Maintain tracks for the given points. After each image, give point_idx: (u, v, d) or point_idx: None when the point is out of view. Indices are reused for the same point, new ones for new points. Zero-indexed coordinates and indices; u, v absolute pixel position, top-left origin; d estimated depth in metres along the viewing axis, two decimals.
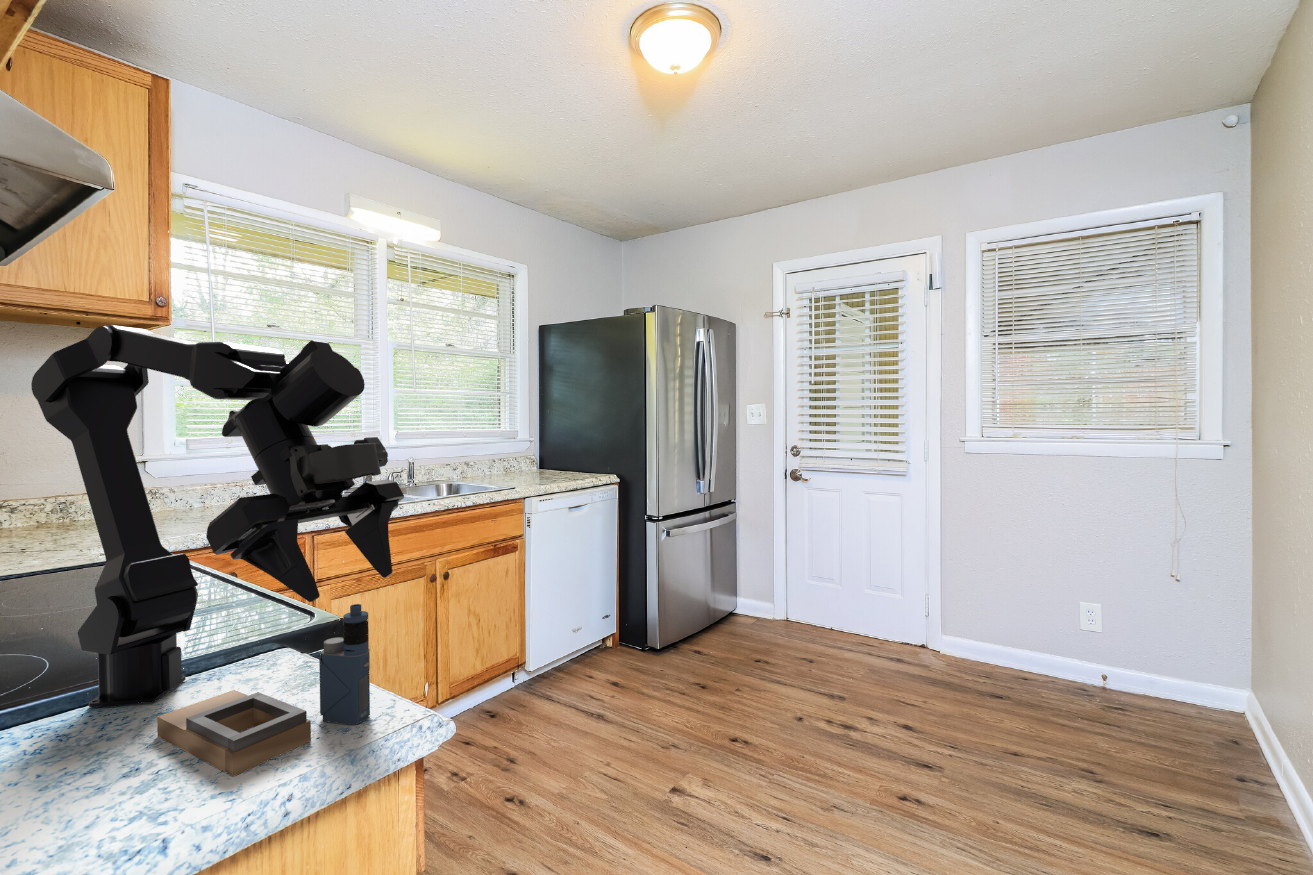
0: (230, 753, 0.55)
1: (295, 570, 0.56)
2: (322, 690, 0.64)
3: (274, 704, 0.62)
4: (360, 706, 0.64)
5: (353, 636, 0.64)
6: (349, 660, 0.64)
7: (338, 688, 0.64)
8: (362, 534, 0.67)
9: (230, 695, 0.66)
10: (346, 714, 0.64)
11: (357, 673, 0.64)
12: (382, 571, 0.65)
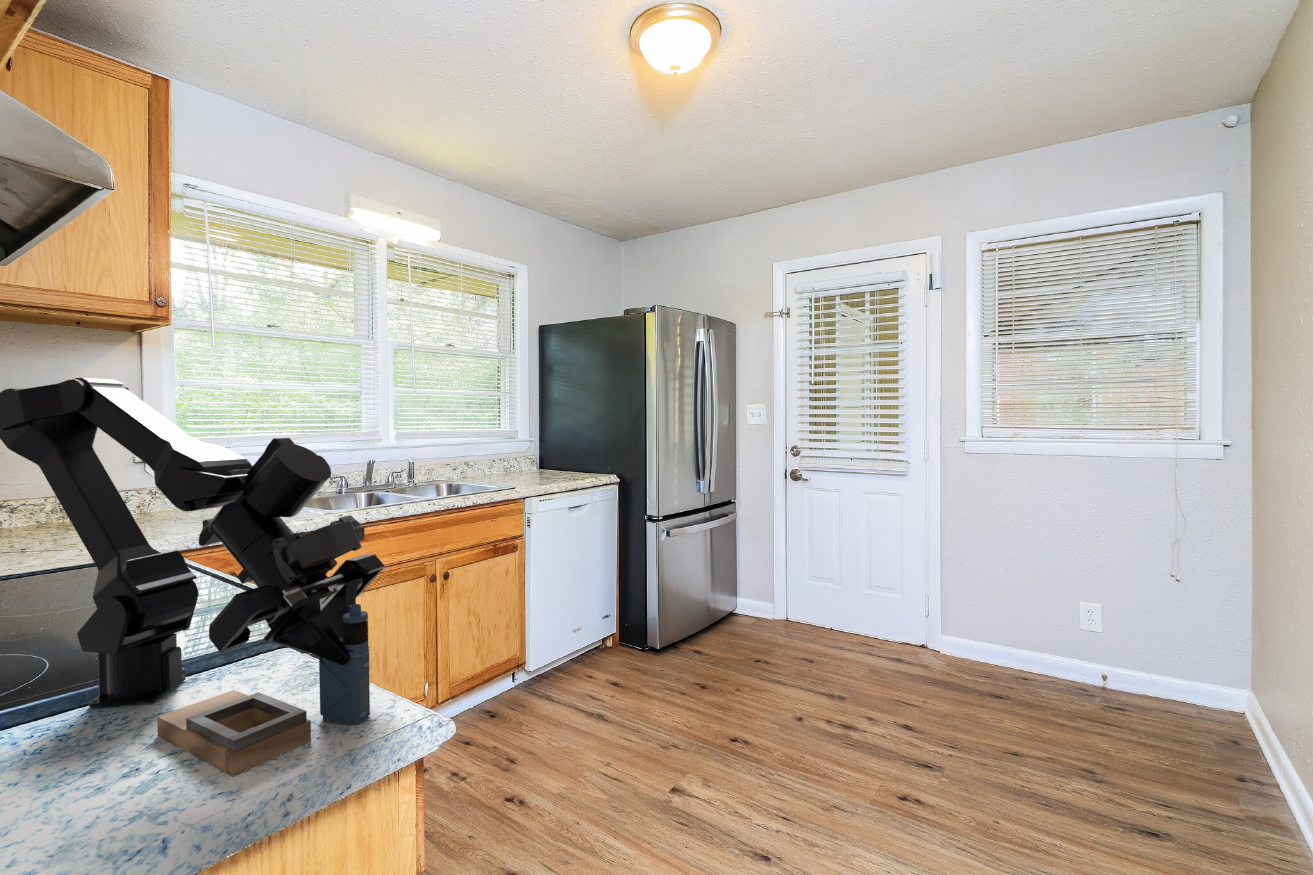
0: (230, 753, 0.55)
1: (325, 639, 0.63)
2: (322, 690, 0.64)
3: (274, 704, 0.62)
4: (360, 706, 0.64)
5: (353, 636, 0.64)
6: (349, 660, 0.64)
7: (338, 688, 0.64)
8: (331, 618, 0.67)
9: (230, 695, 0.66)
10: (346, 714, 0.64)
11: (357, 673, 0.64)
12: None
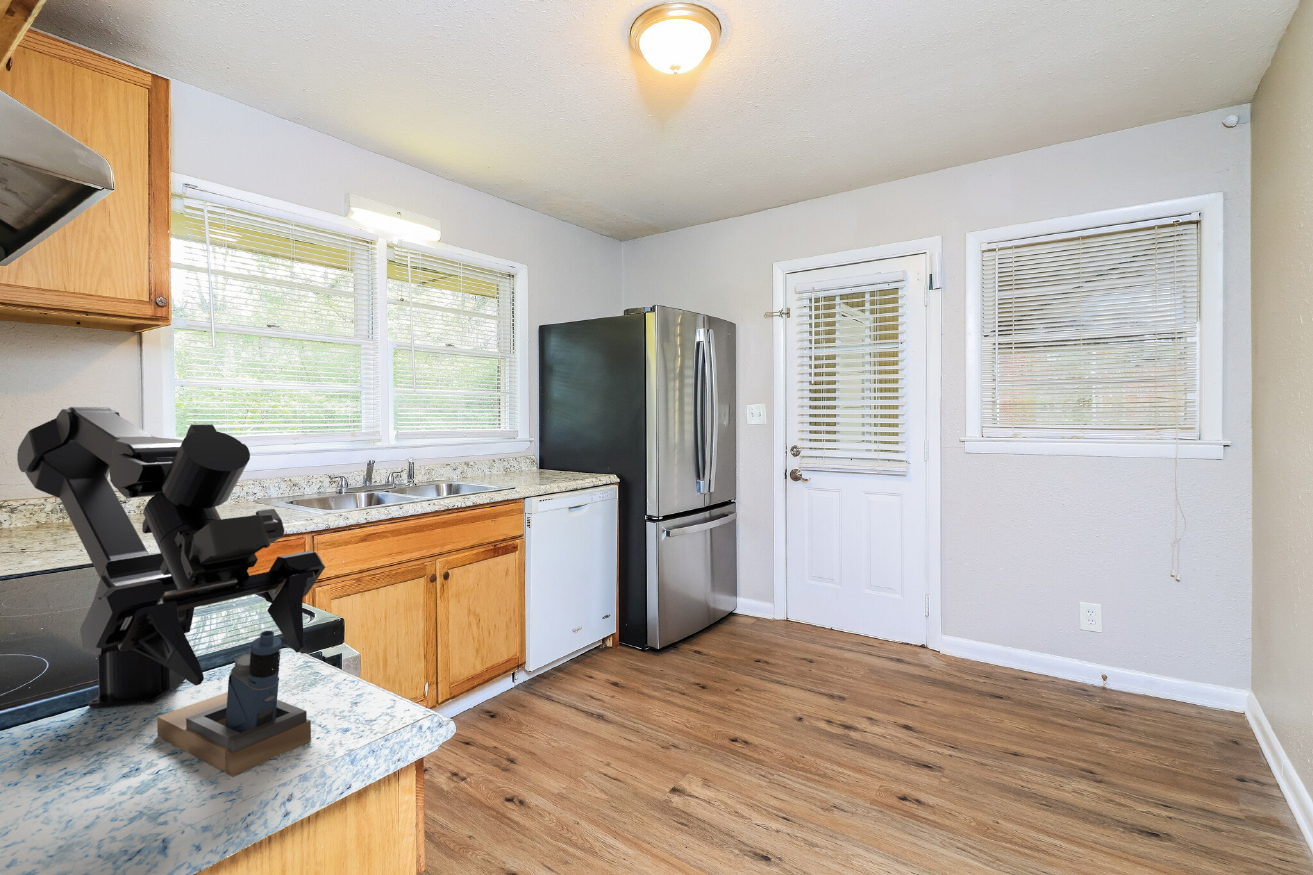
0: (230, 753, 0.55)
1: (176, 654, 0.55)
2: (227, 708, 0.58)
3: None
4: None
5: (256, 668, 0.56)
6: (250, 691, 0.57)
7: (238, 713, 0.58)
8: (278, 610, 0.65)
9: None
10: None
11: (256, 706, 0.57)
12: (295, 646, 0.63)
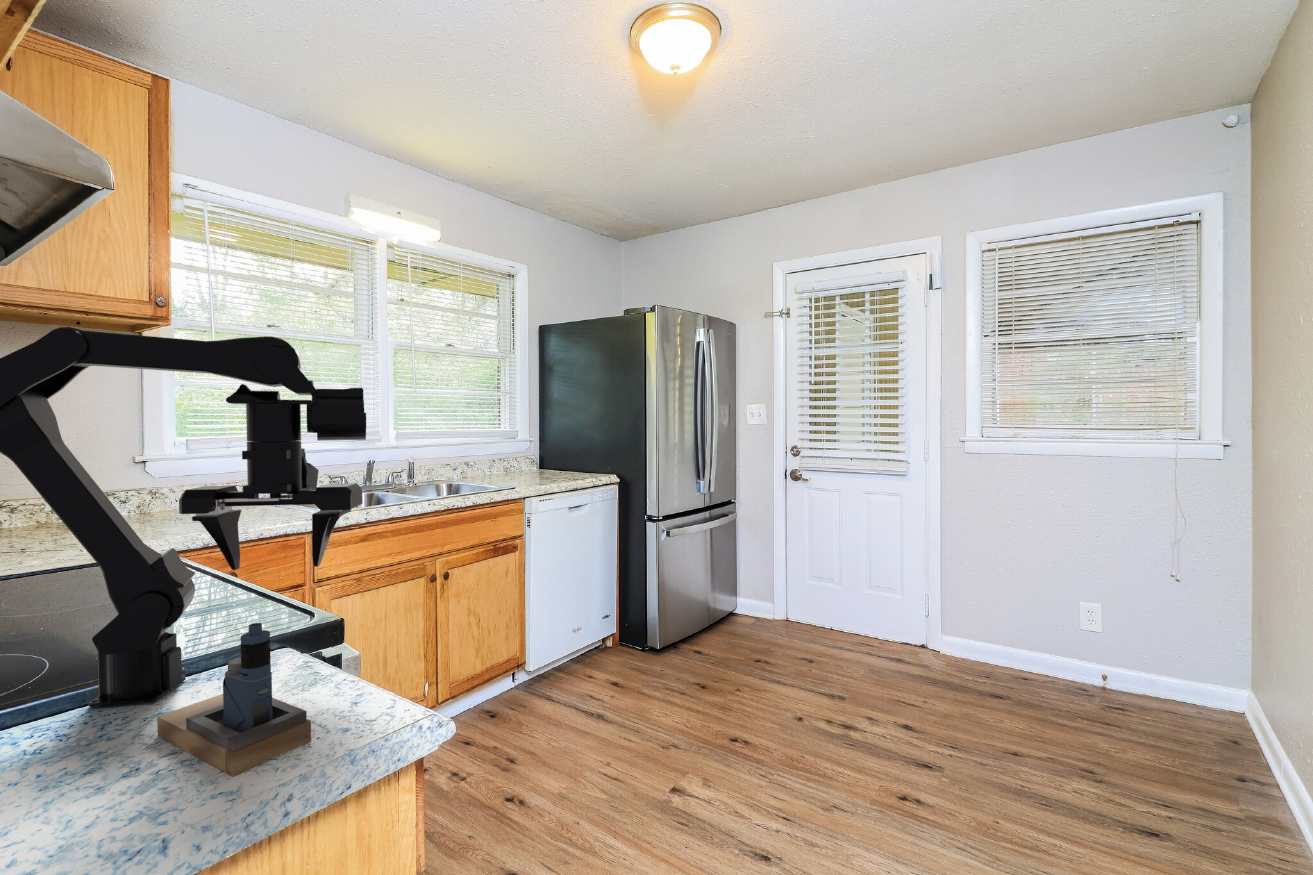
0: (230, 753, 0.55)
1: (327, 541, 0.79)
2: (224, 713, 0.59)
3: (274, 704, 0.62)
4: None
5: (247, 659, 0.58)
6: (243, 685, 0.58)
7: (235, 714, 0.58)
8: (228, 526, 0.75)
9: None
10: None
11: (251, 700, 0.58)
12: (236, 564, 0.76)
